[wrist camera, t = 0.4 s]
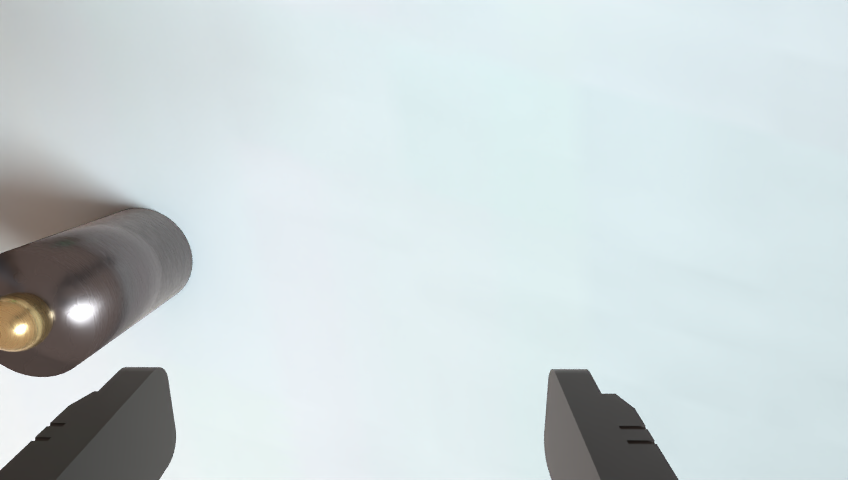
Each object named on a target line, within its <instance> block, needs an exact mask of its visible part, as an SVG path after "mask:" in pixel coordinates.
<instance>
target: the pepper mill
mask: <svg viewBox="0 0 848 480" xmlns="http://www.w3.org/2000/svg"><path fill="white" fill-rule="evenodd" d="M191 270H192V253H191V249H190V246H189V243H188V241H187V239H186V237H185V235H184V234H183V232H182V231H181V230H180V228H179V227H178V226H177V225H176V224H175V223H174V222H173V221H171V220H170V219H169V218H167V217H166V216H164V215H162V214H160V213H158V212H156V211H153V210H149V209H144V208H132V209H126V210H123V211H120V212H118V213H115V214H112V215H109V216H106V217H103V218H100V219H98V220H95V221H92V222H89V223H86V224H83V225H81V226H78V227H75V228H72V229H69V230H66V231H63V232H61V233H58V234H55V235H52V236H49V237H46V238H44V239H41V240H38V241H35V242H32V243H29V244H26V245H24V246H21V247H18V248H15V249H12V250H9V251H7V252H4V253H1V254H0V364H2V365H3V366H5V367H7V368H9V369H11V370H13V371H15V372H18V373H21V374H24V375H29V376H35V377H50V376H56V375H59V374H62V373H65V372H67V371H69V370H71V369H73V368H74V367H75V366H77V365H78V364H80V363H81V362H83V361H84V360H85V359H87V358H88V357H90V356H91V355H92V354H94V353H95V352H96V351H98V350H99V349H101V348H102V347H103V346H105V345H106V344H108V343H109V342H110V341H112V340H113V339H115V338H116V337H117V336H119V335H120V334H122V333H123V332H124V331H126V330H127V329H129V328H130V327H131V326H133V325H134V324H136V323H137V322H138V321H140V320H141V319H143V318H144V317H145V316H147V315H148V314H150V313H151V312H152V311H154V310H155V309H157V308H158V307H159V306H161V305H162V304H164V303H165V302H166V301H168V300H169V299H170V298H172V297H173V296H175V295H176V294H177V293H179V292H180V291H181V290H182V289H183V287H184V286H185V285H186V283H187V282H188V280H189V277H190V275H191Z"/></svg>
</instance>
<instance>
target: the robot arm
mask: <svg viewBox="0 0 848 480" xmlns="http://www.w3.org/2000/svg"><path fill="white" fill-rule="evenodd" d="M175 443H176V429H175V423H174V416H173V409H172V402H171V396H170V389H169V382H168V376H167V373H166V371H165V370H164V369H163V368H160V367H125V368H122V369H121V370H119V371H118V372H117V373H116V374H115V375H114V376H113V377H112V378H111V379H110V380H109V381H108V382H107V383H106V384H105V385H104V386H103V387H102V388H101V389H100V390H99V391H94V392H92V393H90V394H89V395H87V396H85V397H83V398H82V399H80V400H78V401H76V402H75V403H73V404H71V405H69V406H68V407H67V408H66V409H65V410H64V411H63V412H62V413H61V414H59V415H58V416H57V417H56V418H55V419H54V420H53V421H52V422H51V423H50V426H47V427H46V428H45V429H44V430H43V431H41V432H40V433H39V434H38V435H37V436H36V437H35V441H31V442H30V443H29V444H28V445H27V446H26V447H25V448H24V449H22V450H21V451H20V452H19V453H18V454H17V455H16V456H15V457H14V458H13V459H12V460H11V461H10V462H9V463H8V464H7V465H6V466H4V467H3V468H2V469H1V470H0V480H159V479H160V477H161V476H162V474H163V473H164V471H165V470H166V468H167V467H168V465H169V463H170V461H171V459H172V456H173V453H174V449H175ZM544 446H545V456H546V462H547V466H548V470H549V473H550V476H551V480H678V478H677V477H676V475H675V473H674V472H673V470H672V468H671V467H670V465H669V464H668V462H667V460H666V459H665V457H664V455H663V454H662V452H661V451H660V449H659V447H658V446H657V444H655V443H654V439H653V438H652V436H651V434H650V433H649V431H648V429H646V428H645V425H644V423H643V421H642V420H641V418H640V416H639V415H638V413H637V412H636V410H635V408H633V407H632V406H631V405H629V404H628V403H627V402H625V401H624V400H623V399H621V398H620V397H619V396H618V395H616V394H601V392H600V390H599V388H598V387H597V385H596V383H595V381H594V379H593V377H592V375H591V374H590V372H589V371H588V370H587V369H552V370H551V371H550V373H549V379H548V391H547V404H546V418H545V431H544Z"/></svg>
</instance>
